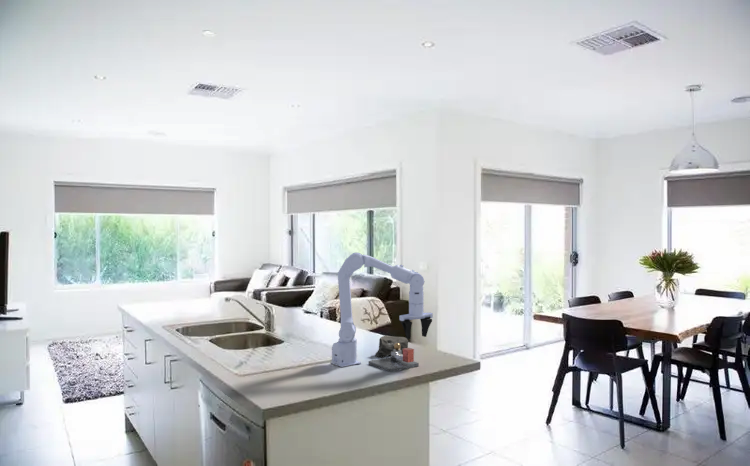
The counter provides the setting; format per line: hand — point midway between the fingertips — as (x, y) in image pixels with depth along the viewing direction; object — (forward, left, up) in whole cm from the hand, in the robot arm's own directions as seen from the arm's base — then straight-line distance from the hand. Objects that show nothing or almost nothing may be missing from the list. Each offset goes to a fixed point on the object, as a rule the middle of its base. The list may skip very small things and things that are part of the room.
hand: (416, 337), depth 207 cm
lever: (-6, +2, -9) cm, 11 cm away
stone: (+3, +19, -11) cm, 22 cm away
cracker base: (-9, +4, -10) cm, 14 cm away
